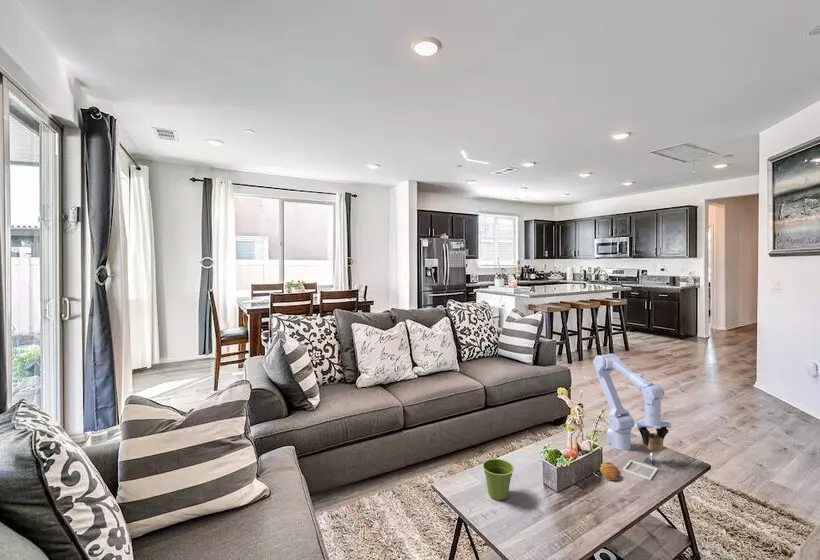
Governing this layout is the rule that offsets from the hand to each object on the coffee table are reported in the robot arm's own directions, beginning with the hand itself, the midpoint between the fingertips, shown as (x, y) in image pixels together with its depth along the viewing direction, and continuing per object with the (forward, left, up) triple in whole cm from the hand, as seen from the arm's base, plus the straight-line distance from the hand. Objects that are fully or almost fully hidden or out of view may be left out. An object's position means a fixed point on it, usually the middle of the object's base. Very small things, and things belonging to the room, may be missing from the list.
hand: (652, 443), depth 164 cm
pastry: (-10, -20, -10) cm, 25 cm away
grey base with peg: (0, 0, -9) cm, 9 cm away
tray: (-2, -11, -9) cm, 14 cm away
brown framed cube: (0, 0, -1) cm, 1 cm away
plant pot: (-36, -64, -9) cm, 74 cm away
